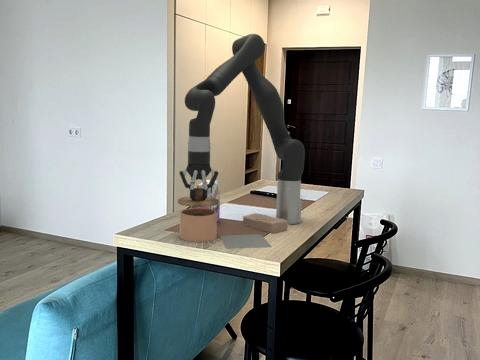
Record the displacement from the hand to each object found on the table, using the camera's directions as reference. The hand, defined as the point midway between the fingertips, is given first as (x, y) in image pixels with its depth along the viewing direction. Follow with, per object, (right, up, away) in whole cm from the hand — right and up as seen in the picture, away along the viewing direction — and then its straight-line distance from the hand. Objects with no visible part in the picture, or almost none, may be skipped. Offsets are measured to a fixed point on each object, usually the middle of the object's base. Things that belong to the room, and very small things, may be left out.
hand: (198, 199), depth 159 cm
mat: (+16, -14, -2) cm, 21 cm away
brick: (+23, -12, +17) cm, 31 cm away
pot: (0, -13, +2) cm, 13 cm away
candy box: (+2, -10, +21) cm, 24 cm away
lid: (0, -1, 0) cm, 1 cm away
